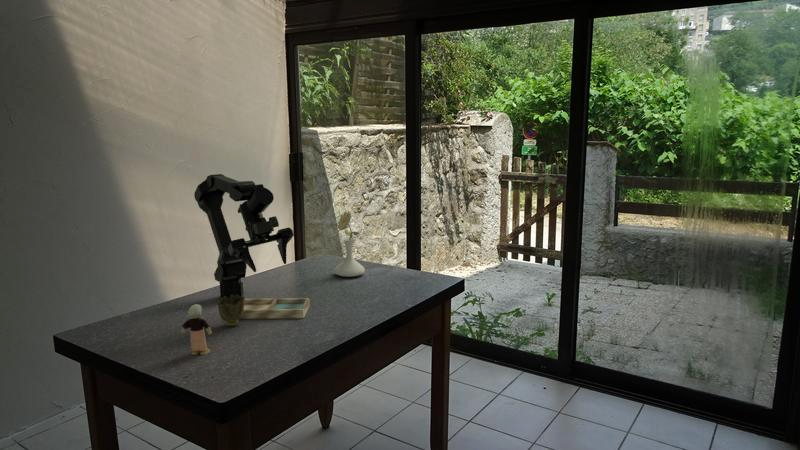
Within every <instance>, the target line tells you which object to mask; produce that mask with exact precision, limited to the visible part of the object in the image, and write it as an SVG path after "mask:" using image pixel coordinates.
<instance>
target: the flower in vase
mask: <svg viewBox="0 0 800 450" xmlns="http://www.w3.org/2000/svg"><path fill="white" fill-rule="evenodd" d="M351 219H352V213H351V211H350V210H348V211H347V210H346V211H344V212H343V214H341V215H340V218H339V220H338V221H337V229H338V231H339V232H340V231H343V230H344V234H345V235H347V236H349V237H345V238H342V242H343V243H344V245H345V252H346V253H345V255H346V256H345V258H344V260H343V261H341V263H339V264H337V266H336V267H335V269H334V273H335V274H336V275H338V276H341V277H345V278H346V277H347V278H348V277H349V278H350V277H357V276H360V275H362V274H364V273H365V270H366V269H365V267H364V266H363V264H360V263H359V262H358V261H357V260H355V258H354V257H353V247H354V244H355V241H356V238H355V237H353V234H354V232H353V231H352V228H351V226H350V224H349V223H350V222H351ZM347 227H348V228H349V229H350V230H348V229H347Z"/></svg>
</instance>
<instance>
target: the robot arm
mask: <svg viewBox="0 0 800 450" xmlns="http://www.w3.org/2000/svg"><path fill="white" fill-rule="evenodd" d="M225 194H229V198H230V199H231V200H232V201H234V202H235V203H236V202H242V203H240V204H239V207H238V209H237V214H241V218H242V220H243V224H244V226H245V228H244V229H245V231H246V232H247V235H248V236H249V240H245V238H244V237H243V238H237V239H234V240H232V237H231V234H230V232H229V229H228V226H227V222H226V220H225V216H224V214H223V210H222V206H223V202H224V195H225ZM194 200H195V201H196V203H197V205H198V207H199V209H200V210H201V211H203V213H205V214H206V216H207V218H208V219H207V220H208V222H209V225H210V228H211V231H212V234H213V237H214V240H215V243H216V246H217V249H218V253H219V254H218V258H217V261H216V263H217V267H216V269H215V271H214V273H213V276H214V280H215V281H216V282H218V283H219V293H220V295H219V298H220V297H221V298H223V297H224V296H226V298H230V296H231V295H233V296H235V295H239V297H240V296H242V297H243V295H244V294H245V293H244V282H243V281H242V279H245V278H246V273H247V266H248V267H249V268H250V269H251V270H252V271H253V272H254V273H256V272H257V268H256V264H255V263H254V260H253V258H252V256H251V253H250V249H249V248H251V247H255V246H260V245H263V244H268V243H272V242H275V241H276V243H278V244H277V245H276V246H277V248H278V253H279V255H280V258H281V260H282V262H283V265H287V245H288V243H289V242H290V241H291V240H292V239H293V237H294V235H295V232H294V230H293V229H292V228H291V227H284V228H281V229H278V230H277V232H276V233H275V234H272V232H274V231H275V229H274V228H278V227H279V225H280V223H279V220H278V218H277V216H276V215H275V216H271V217H268V221H267V219H266V218H265V217H264V215H263V212H265V211H266V210H267V208H268V207H270V205H271V204H272V203H273V201H274V193H273V192H272V191H271V190H270V189H269V188H267V187H265V186H264V184H262V183H261V184H256V183H255V182H254V181H253V180H242V181H240V180H236V179H233V178H231V177H229V176H226V175H225V174H222V173H219V174H209V175H207V177H206V179H204V180H203V181H202V182H200V183H199V184H198V185H197V187H196V189H195V190H194ZM219 298H218V299H219Z"/></svg>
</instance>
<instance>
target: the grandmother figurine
mask: <svg viewBox="0 0 800 450" xmlns="http://www.w3.org/2000/svg"><path fill="white" fill-rule="evenodd" d="M202 310H203V309H202V305H201V304H197V303H195V304H193V305H191V306H190V307H189V309H188V311H187V315H189V316H190V317H191V318H189V319H187V320H185V322H184V323H183V324H182V326H181V327H182V328H181V330H180V333H182V334H185V333H186V330H187V329H188V330H189V329H190V331H189V332H190V334H189V337H190V338H189V339H190V340H189V341H190V345H191V355H192V356H196V355H198V354H199V355H201V356H205V355H207V354H209V353H211V349H210V348H208V347H207V339H206V333H205V331H206V332H207V335H212V333H213V332H212V330H211V327H210V325H209V323H208V322H207V321H206V320H205V319H204V318H201V316H202Z"/></svg>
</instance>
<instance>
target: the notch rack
mask: <svg viewBox="0 0 800 450" xmlns="http://www.w3.org/2000/svg"><path fill="white" fill-rule="evenodd" d="M310 304H311V303H310V298H308V297H307V298H305V297H304V298H303V297H302V298H301V297H300V298H299V297H297V298H296V297H294V298H289V297H288V298H282V297H281V298H244V311H243V315H242V317H241V318H240V319H241V320H242V319H247V320H248V319H304V318H305V316H306V315H307V312H308V310H309V308H310ZM240 319H239V320H240Z"/></svg>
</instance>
